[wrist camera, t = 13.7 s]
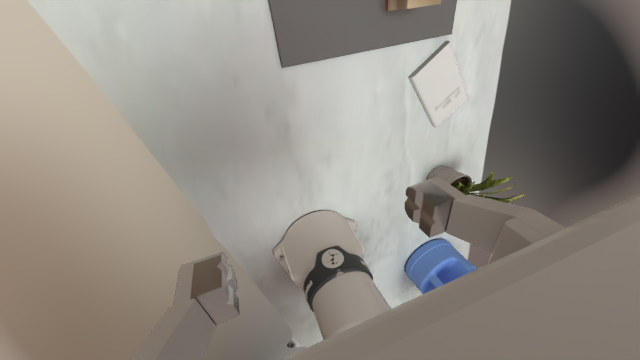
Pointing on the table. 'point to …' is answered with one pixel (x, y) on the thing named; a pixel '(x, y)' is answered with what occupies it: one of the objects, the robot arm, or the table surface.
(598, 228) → the robot arm
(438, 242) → the water jug
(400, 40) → the rubber mat
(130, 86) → the table surface
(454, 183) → the house plant
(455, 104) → the external hard drive
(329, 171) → the table surface
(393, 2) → the maple block
